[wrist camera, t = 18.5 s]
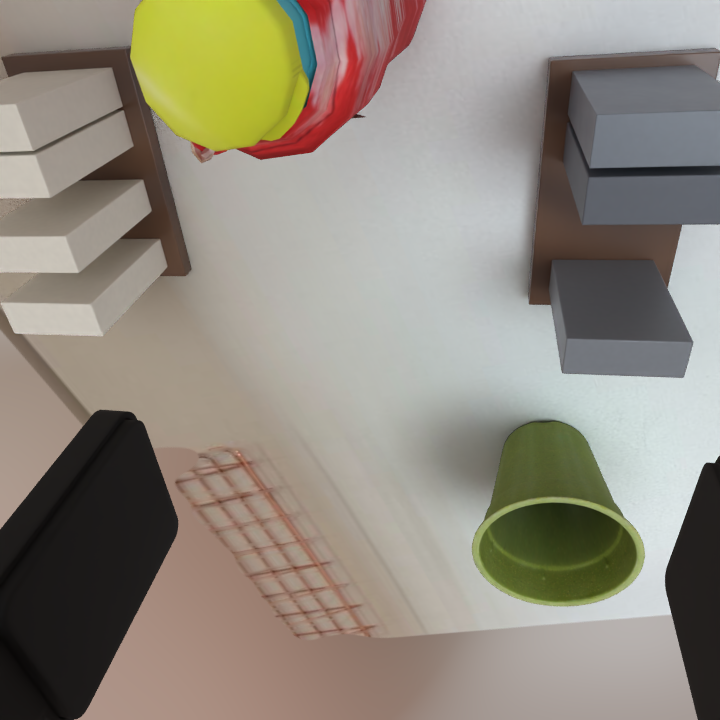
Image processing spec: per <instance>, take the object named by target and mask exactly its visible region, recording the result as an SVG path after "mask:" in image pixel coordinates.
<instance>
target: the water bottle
mask: <svg viewBox="0 0 720 720" xmlns="http://www.w3.org/2000/svg"><path fill="white" fill-rule="evenodd" d="M425 2H426V0H142V1H141V3H140V4H139V5H138V7H137V8H136V9H135V14H134V24H133V33H132V43H131V53H130V59H131V61H132V64H133V67H134V70H135V73H136V76H137V78H138V81H139V84H140V87H141V90H142V93H143V95H144V98H145V101H146V103H147V104H148V105H149V106H150V107H151V108H152V109H153V110H154V111H155V113H156V114H157V115H158V116H159V117H160V118H161V119H162V120H163V121H164V122H165V123H166V125H167V126H168V127H169V128H170V129H171V130H172V131H173V132H174V133H175V134H176V135H177V136H179V137H182V138H184V139H186V140H189V141H190V143H191V149H192V153H193V154H194V155H195V156H196V157H197V159H198V160H199V161H200V162H201V163H203V162H205V161H208V160H210V159H211V158H212V157H213V155H218V154H220V153H223V152H226V151H227V150H230V149H237V150H239V151H242V152H244V153H246V154H249V155H251V156H253V157H256V158H258V159H260V160H262V159H269V158H276V157H283V156H290V155H297V154H304V153H311V152H313V151H314V150H316V149H317V148H318V147H319V146H320V145H321V144H322V143H323V142H324V141H325V140H327V139H328V138H329V137H330V136H331V135H332V134H333V133H335V132H336V131H337V130H338V129H339V128H340V127H342V126H343V125H344V124H345V123H346V122H347V121H349V120H350V119H351V118H361V117H365V116H361V115H357V113H358V112H359V111H360V110H361V109H362V108H364V107H365V106H366V105H367V104H368V103H369V102H370V100H371V99H372V97H373V96H374V95H375V93H376V92H377V90H378V89H379V88H380V85H381V82H382V79H383V76H384V73H385V70H386V67H387V65H388V63H389V62H390V61H392V60H393V59H394V58H395V57H396V56H397V55H398V54H400V53H401V52H402V51H403V50H404V49H405V48H406V47H407V46H409V44H410V42H411V40H412V39H413V36H414V33H415V31H416V28H417V25H418V22H419V19H420V17H421V14H422V11H423V8H424V5H425Z"/></svg>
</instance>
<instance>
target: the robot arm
mask: <svg viewBox="0 0 720 720" xmlns="http://www.w3.org/2000/svg"><path fill="white" fill-rule="evenodd" d="M177 530H178V518H177V515H176V512H175V509H174V506H173V504H172V501H171V498H170V495H169V492H168V490H167V487H166V484H165V481H164V478H163V476H162V473H161V470H160V467H159V465H158V462H157V459H156V456H155V453H154V450H153V448H152V445H151V442H150V439H149V437H148V434H147V431H146V428H145V426H144V424H143V422H141V421H138V420H137V418H136V417H135V415H134V414H133V413H132V412H125V411H111V410H99V411H96V412H95V413H94V414H93V415H92V416H91V417H90V419H89V420H88V421H87V422H86V424H85V425H84V426H83V427H82V429H81V430H80V431H79V432H78V434H77V435H76V436H75V437H74V438H73V440H72V441H71V442H70V444H69V445H68V446H67V447H66V448H65V450H64V451H63V452H62V454H61V455H60V456H59V457H58V458H57V460H56V461H55V462H54V463H53V465H52V466H51V467H50V468H49V470H48V471H47V472H46V473H45V475H44V476H43V477H42V478H41V480H40V481H39V482H38V483H37V484H36V486H35V487H34V488H33V490H32V491H31V492H30V493H29V495H28V496H27V497H26V499H25V500H24V501H23V502H22V503H21V504H20V506H19V507H18V508H17V509H16V511H15V512H14V513H13V514H12V516H11V517H10V518H9V519H8V521H7V522H6V523H5V524H4V526H3V527H2V528H1V529H0V720H74V719H78V718H80V717H81V716H82V715H83V714H84V713H85V711H86V710H87V708H88V706H89V705H90V703H91V701H92V699H93V697H94V695H95V693H96V691H97V689H98V687H99V685H100V683H101V681H102V679H103V677H104V675H105V673H106V672H107V670H108V668H109V666H110V664H111V662H112V660H113V658H114V656H115V654H116V652H117V650H118V648H119V646H120V644H121V642H122V640H123V638H124V636H125V634H126V633H127V631H128V629H129V627H130V625H131V623H132V621H133V619H134V617H135V615H136V613H137V611H138V609H139V607H140V605H141V603H142V602H143V600H144V598H145V596H146V594H147V591H148V590H149V588H150V586H151V584H152V582H153V580H154V578H155V576H156V574H157V572H158V570H159V569H160V566H161V565H162V563H163V561H164V558H165V557H166V555H167V553H168V551H169V549H170V547H171V545H172V543H173V541H174V539H175V537H176V534H177ZM665 587H666V593H667V597H668V601H669V605H670V609H671V613H672V617H673V621H674V625H675V629H676V634H677V638H678V642H679V646H680V650H681V653H682V658H683V662H684V666H685V670H686V674H687V677H688V682H689V686H690V690H691V693H692V698H693V702H694V706H695V710H696V714H697V718H698V720H720V456H719V457H718V458H717V460H716V462H715V463H706V464H705V465H704V467H703V469H702V471H701V474H700V477H699V480H698V482H697V485H696V488H695V491H694V494H693V496H692V499H691V502H690V505H689V507H688V510H687V513H686V516H685V519H684V521H683V524H682V527H681V530H680V532H679V535H678V538H677V541H676V543H675V546H674V549H673V552H672V555H671V557H670V560H669V563H668V566H667V569H666V574H665Z"/></svg>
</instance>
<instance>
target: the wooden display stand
mask: <svg viewBox="0 0 720 720" xmlns="http://www.w3.org/2000/svg"><path fill="white" fill-rule="evenodd" d="M130 53H131V46H127V47H112V48H97V49H81V50H66V51H51V52H36V53H21V54H11V55H7V56H3V57H2V60H3V63H4V66H5V69H6V71H7V74H8V78H5V79H2V80H0V199H13V198H51V197H53V196H55V195H56V194H58V193H59V192H61V191H63V190H64V189H66V188H67V187H69V186H71V185H72V184H74V183H75V182H77V181H90V180H135V179H142V180H143V181H144V185H145V188H146V192H147V195H148V199H149V202H150V206H151V209H152V211H151V212H150V213H149V214H148V215H147V216H145V217H144V218H143V219H142V220H141V221H140V222H138V223H137V224H136V225H135V226H134V227H132V228H131V229H130V230H129V231H128V232H127V233H125V234H124V235H123V236H122V237H121V238H120V239H118V240H117V241H116V242H115V243H114V244H112V245H111V246H110V247H109V248H108V249H107V250H105V251H104V252H103V253H102V254H101V255H99V256H98V257H97V258H96V259H95V260H94V261H92V262H91V263H90V264H89V265H88V266H87V267H85V268H84V269H83V270H82V271H81V272H79V273H38V274H37V275H36V276H34V277H33V278H32V279H30V280H29V281H28V282H27V283H25V284H24V285H23V286H21V287H20V288H19V289H18V290H16V291H15V292H14V293H12V294H11V295H10V296H8V297H7V298H6V299H5V300H3V301H2V302H1V305H2V307H3V310H4V312H5V314H6V316H7V318H8V320H9V322H10V325H11V327H12V329H13V331H14V333H15V334H43V335H77V336H103V335H104V334H105V333H106V332H107V331H108V330H109V329H110V328H111V327H112V326H113V325H114V324H115V323H116V322H117V320H118V319H119V318H120V317H121V316H122V315H123V314H124V313H125V312H126V311H127V310H128V309H129V308H130V307H131V306H132V304H133V303H134V302H135V301H136V300H137V299H138V298H139V297H140V296H141V295H142V294H143V293H144V292H145V291H146V290H147V289H148V287H149V286H150V285H151V284H152V283H153V282H154V281H155V280H156V279H157V278H158V277H159V276H186V275H187V274H188V273H189V272H190V270H191V266H190V262H189V258H188V254H187V250H186V247H185V243H184V239H183V235H182V231H181V227H180V223H179V219H178V216H177V212H176V208H175V204H174V200H173V196H172V192H171V188H170V185H169V181H168V177H167V173H166V169H165V165H164V161H163V158H162V154H161V150H160V146H159V142H158V138H157V134H156V130H155V127H154V123H153V119H152V115H151V111H150V107H149V105H148V104H147V103H146V101H145V98H144V95H143V93H142V90H141V87H140V84H139V81H138V78H137V76H136V73H135V70H134V67H133V64H132V61H131V59H130Z"/></svg>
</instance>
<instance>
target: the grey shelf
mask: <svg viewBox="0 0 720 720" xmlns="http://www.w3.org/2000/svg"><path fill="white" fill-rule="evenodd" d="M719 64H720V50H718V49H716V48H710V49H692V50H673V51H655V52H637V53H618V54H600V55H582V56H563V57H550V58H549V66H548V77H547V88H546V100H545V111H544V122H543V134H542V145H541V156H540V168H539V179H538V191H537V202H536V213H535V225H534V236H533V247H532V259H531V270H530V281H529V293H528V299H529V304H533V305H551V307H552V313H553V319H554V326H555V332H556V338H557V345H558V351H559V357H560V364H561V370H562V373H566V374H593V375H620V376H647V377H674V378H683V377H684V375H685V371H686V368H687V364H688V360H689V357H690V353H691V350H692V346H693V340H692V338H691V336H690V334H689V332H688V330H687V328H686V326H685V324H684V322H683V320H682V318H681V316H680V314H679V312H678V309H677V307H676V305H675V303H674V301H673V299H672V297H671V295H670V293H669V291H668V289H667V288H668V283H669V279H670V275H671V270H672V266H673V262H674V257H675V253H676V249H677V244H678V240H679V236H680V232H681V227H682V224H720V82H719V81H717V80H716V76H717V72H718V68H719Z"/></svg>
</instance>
